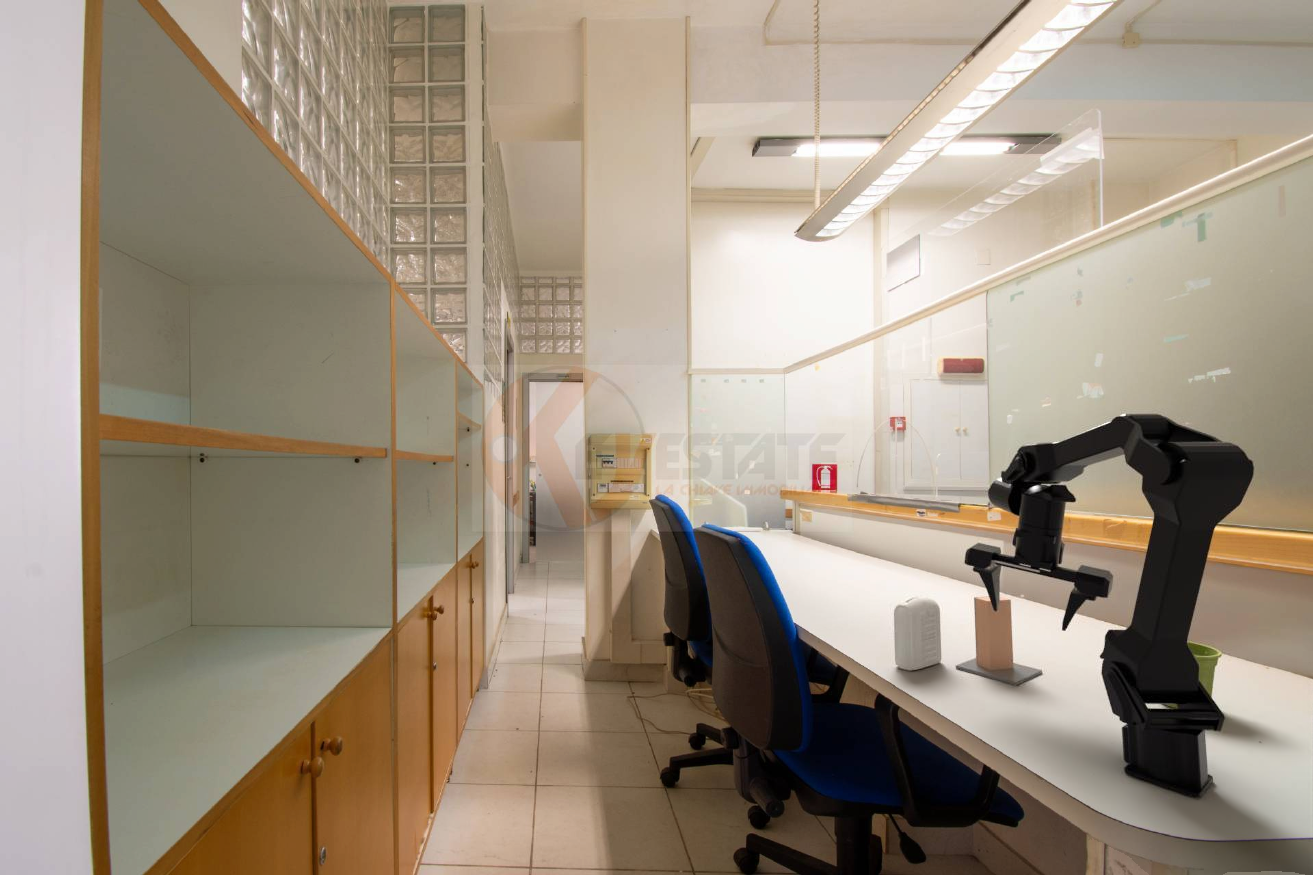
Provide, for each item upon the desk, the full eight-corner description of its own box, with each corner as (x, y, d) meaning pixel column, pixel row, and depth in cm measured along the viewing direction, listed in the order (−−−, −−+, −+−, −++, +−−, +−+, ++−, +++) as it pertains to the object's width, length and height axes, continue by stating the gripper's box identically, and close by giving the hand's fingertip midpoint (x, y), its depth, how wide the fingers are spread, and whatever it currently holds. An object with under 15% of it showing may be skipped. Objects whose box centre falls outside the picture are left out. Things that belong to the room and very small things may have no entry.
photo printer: (923, 656, 108) (921, 591, 109) (945, 662, 104) (942, 595, 105) (891, 666, 102) (889, 598, 103) (913, 673, 99) (911, 602, 99)
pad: (1042, 672, 99) (1041, 669, 99) (1016, 685, 93) (1016, 682, 93) (982, 657, 107) (982, 655, 107) (955, 668, 101) (955, 665, 101)
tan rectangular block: (1013, 667, 100) (1010, 599, 101) (990, 670, 99) (987, 601, 99) (999, 662, 103) (996, 595, 104) (976, 664, 102) (974, 597, 102)
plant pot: (1197, 721, 79) (1193, 658, 80) (1126, 696, 88) (1122, 640, 89) (1242, 713, 82) (1238, 652, 82) (1168, 689, 91) (1165, 635, 91)
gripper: (1123, 528, 86) (1109, 624, 88) (987, 505, 99) (978, 589, 101) (1114, 542, 78) (1100, 647, 80) (968, 515, 91) (958, 606, 93)
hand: (1028, 619), depth 89 cm, fingers open, 9 cm apart
